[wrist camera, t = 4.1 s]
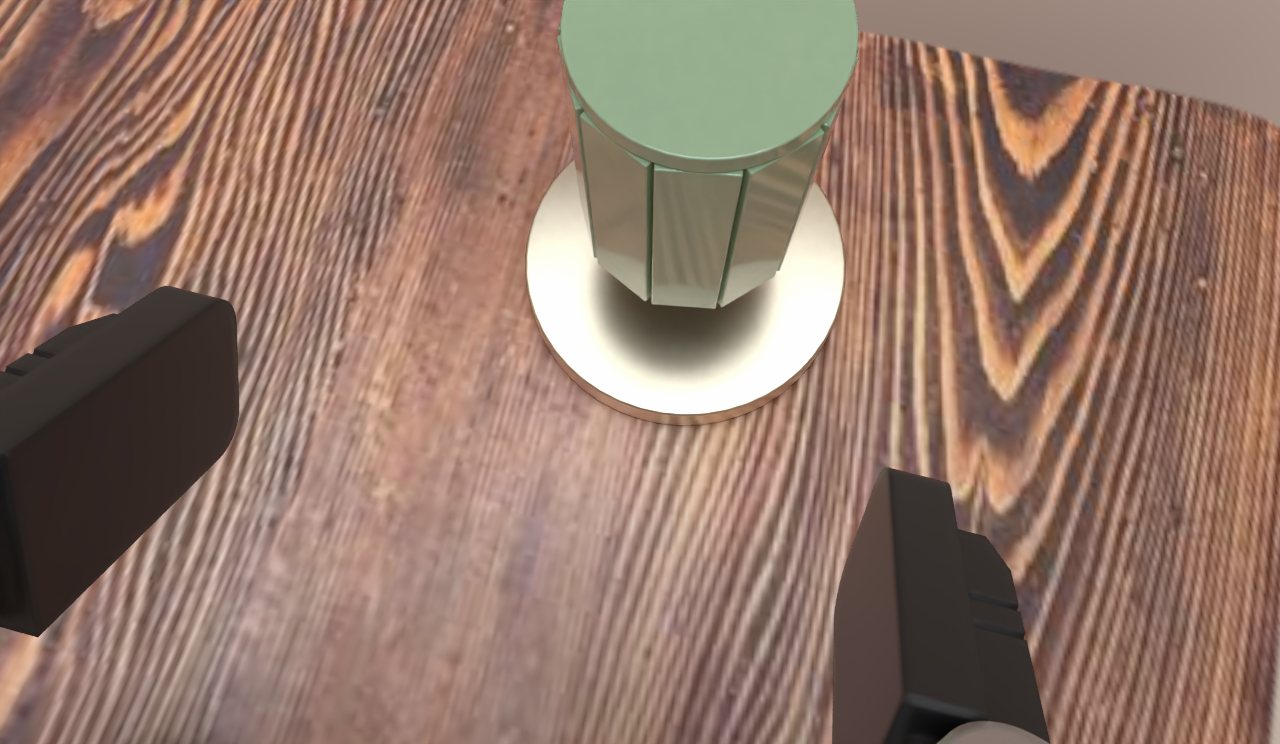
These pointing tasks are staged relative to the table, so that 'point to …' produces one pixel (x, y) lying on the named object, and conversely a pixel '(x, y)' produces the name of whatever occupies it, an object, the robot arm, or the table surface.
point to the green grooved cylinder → (700, 133)
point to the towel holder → (680, 320)
